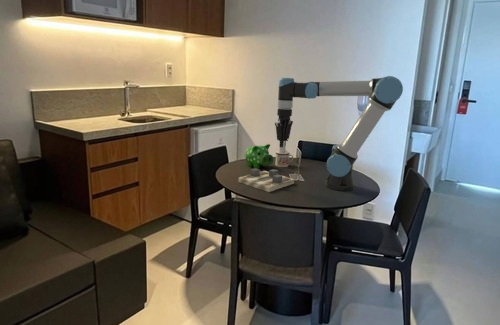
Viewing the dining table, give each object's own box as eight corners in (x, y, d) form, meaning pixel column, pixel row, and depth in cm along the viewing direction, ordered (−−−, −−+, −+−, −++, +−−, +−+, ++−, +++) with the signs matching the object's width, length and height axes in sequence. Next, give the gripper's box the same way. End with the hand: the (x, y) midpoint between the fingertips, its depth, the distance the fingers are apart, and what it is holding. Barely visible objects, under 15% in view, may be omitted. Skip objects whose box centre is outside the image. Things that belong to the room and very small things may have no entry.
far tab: (259, 175, 209) (259, 169, 208) (254, 176, 206) (255, 170, 205) (255, 173, 211) (255, 168, 211) (250, 174, 209) (250, 169, 208)
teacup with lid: (277, 167, 236) (278, 150, 233) (273, 164, 245) (274, 146, 242) (295, 167, 239) (296, 149, 236) (290, 163, 248) (291, 146, 245)
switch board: (294, 183, 206) (294, 178, 205) (268, 192, 190) (269, 186, 189) (264, 174, 220) (264, 170, 219) (238, 182, 204) (238, 177, 203)
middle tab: (278, 175, 209) (278, 170, 208) (273, 177, 206) (273, 171, 205) (273, 174, 211) (273, 169, 210) (268, 175, 208) (269, 170, 207)
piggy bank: (258, 172, 225) (259, 148, 221) (240, 165, 238) (240, 142, 235) (275, 168, 234) (276, 145, 230) (256, 162, 247) (257, 140, 243)
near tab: (281, 181, 199) (282, 175, 198) (277, 183, 196) (277, 177, 195) (276, 180, 201) (277, 174, 200) (272, 181, 198) (272, 175, 197)
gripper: (286, 106, 198) (284, 149, 204) (271, 108, 188) (269, 153, 194) (298, 108, 193) (295, 152, 199) (283, 109, 183) (280, 155, 189)
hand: (282, 152), depth 196 cm, fingers closed
